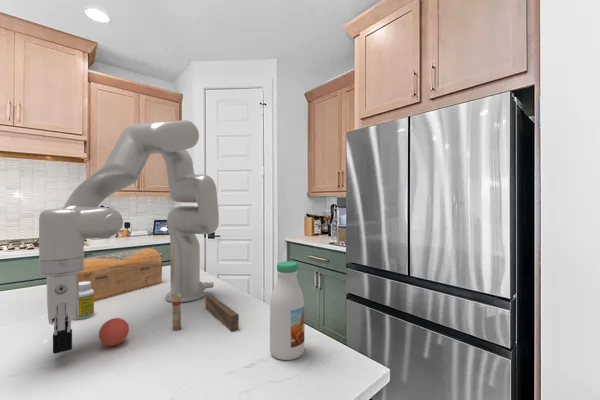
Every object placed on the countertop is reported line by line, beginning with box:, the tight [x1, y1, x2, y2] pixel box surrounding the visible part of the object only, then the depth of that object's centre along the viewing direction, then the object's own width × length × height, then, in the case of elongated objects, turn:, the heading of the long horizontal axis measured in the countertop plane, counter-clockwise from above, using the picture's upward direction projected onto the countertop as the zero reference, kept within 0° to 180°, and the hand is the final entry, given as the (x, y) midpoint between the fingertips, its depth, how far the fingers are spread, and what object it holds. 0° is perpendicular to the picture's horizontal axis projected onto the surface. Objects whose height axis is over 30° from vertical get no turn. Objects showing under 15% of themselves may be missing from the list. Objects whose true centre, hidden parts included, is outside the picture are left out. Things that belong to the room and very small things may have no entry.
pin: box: [171, 294, 182, 331], centre depth 78 cm, size 2×2×9 cm
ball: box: [98, 317, 130, 347], centre depth 70 cm, size 6×6×6 cm
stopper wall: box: [205, 294, 240, 332], centre depth 85 cm, size 2×20×4 cm, turn 36°
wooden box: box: [78, 247, 163, 303], centre depth 112 cm, size 30×16×14 cm, turn 149°
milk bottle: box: [269, 261, 305, 361], centre depth 67 cm, size 8×8×20 cm
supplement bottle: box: [73, 281, 95, 321], centre depth 87 cm, size 5×5×10 cm
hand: (62, 350), depth 64 cm, fingers closed
